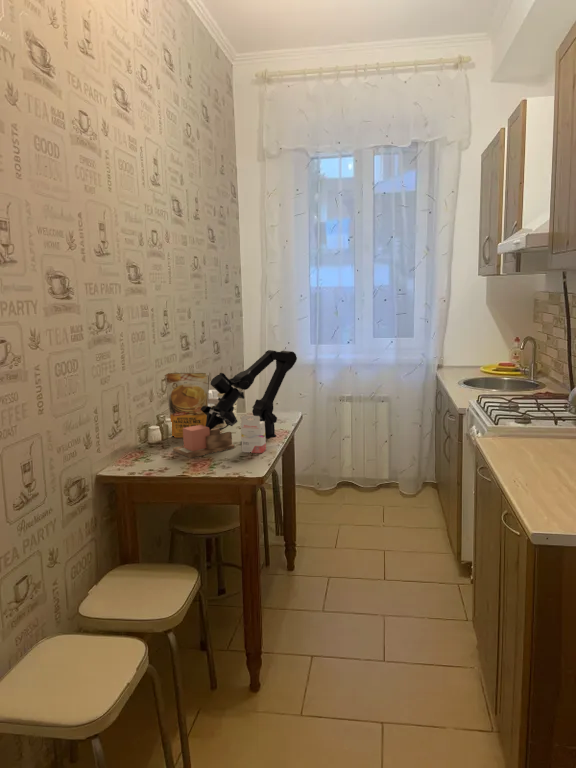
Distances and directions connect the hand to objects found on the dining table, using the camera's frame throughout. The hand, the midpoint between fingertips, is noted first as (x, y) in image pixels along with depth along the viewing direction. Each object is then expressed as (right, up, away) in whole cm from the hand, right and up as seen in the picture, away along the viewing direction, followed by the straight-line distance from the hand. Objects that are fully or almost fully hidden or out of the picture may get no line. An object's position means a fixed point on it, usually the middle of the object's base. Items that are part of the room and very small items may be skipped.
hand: (205, 431), depth 237 cm
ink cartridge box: (+20, -8, -4) cm, 21 cm away
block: (-3, -6, -2) cm, 7 cm away
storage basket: (-1, 0, +45) cm, 45 cm away
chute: (-1, -7, 0) cm, 7 cm away
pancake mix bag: (-10, -4, +22) cm, 25 cm away
